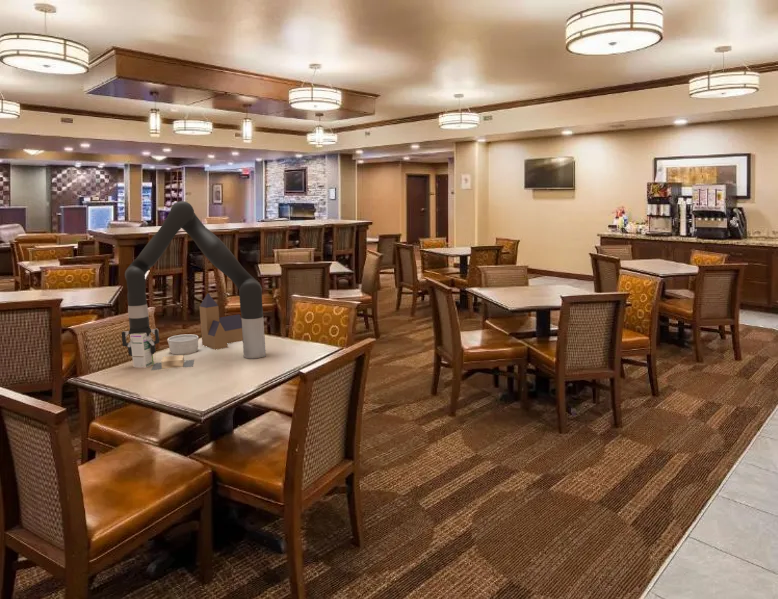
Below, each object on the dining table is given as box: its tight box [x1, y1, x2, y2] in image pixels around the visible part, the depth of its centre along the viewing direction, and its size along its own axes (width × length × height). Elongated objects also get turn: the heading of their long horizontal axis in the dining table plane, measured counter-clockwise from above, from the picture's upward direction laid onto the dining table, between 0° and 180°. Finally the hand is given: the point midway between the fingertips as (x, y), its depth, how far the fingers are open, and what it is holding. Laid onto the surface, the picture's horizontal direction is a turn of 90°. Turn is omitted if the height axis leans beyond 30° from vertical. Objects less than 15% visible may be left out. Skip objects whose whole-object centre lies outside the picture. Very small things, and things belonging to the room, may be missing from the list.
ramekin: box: [167, 333, 200, 356], centre depth 266 cm, size 13×13×7 cm
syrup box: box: [129, 333, 155, 369], centre depth 243 cm, size 6×6×14 cm
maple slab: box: [161, 354, 185, 370], centre depth 243 cm, size 8×8×3 cm
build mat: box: [151, 359, 195, 371], centre depth 244 cm, size 16×11×1 cm
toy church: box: [199, 293, 243, 351], centre depth 279 cm, size 12×19×25 cm
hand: (142, 354), depth 243 cm, fingers closed on syrup box, 7 cm apart
